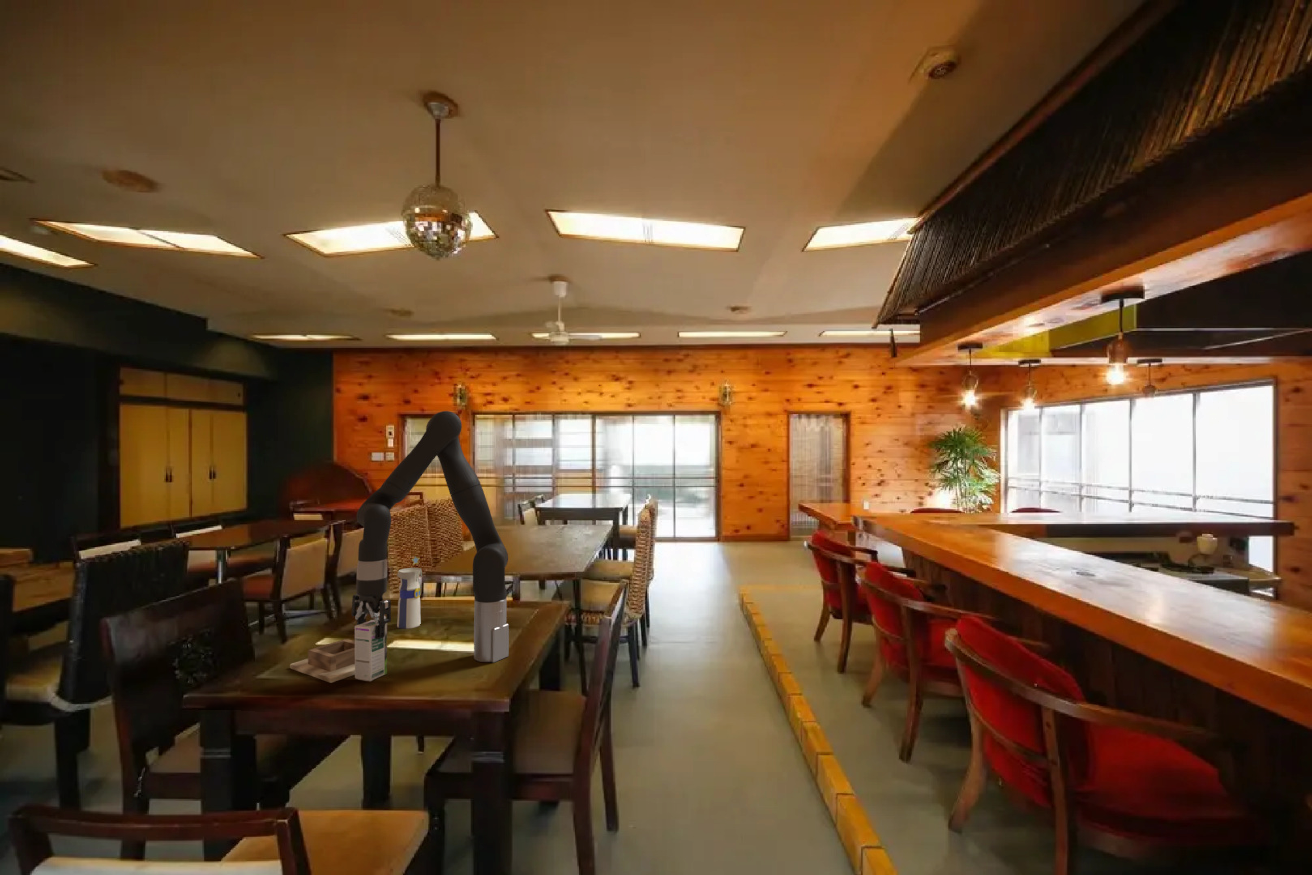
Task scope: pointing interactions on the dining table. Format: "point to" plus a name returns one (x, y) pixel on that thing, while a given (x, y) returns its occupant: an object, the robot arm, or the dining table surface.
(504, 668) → the dining table surface
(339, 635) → the dining table surface
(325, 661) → the collar board
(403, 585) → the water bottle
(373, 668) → the syrup box
